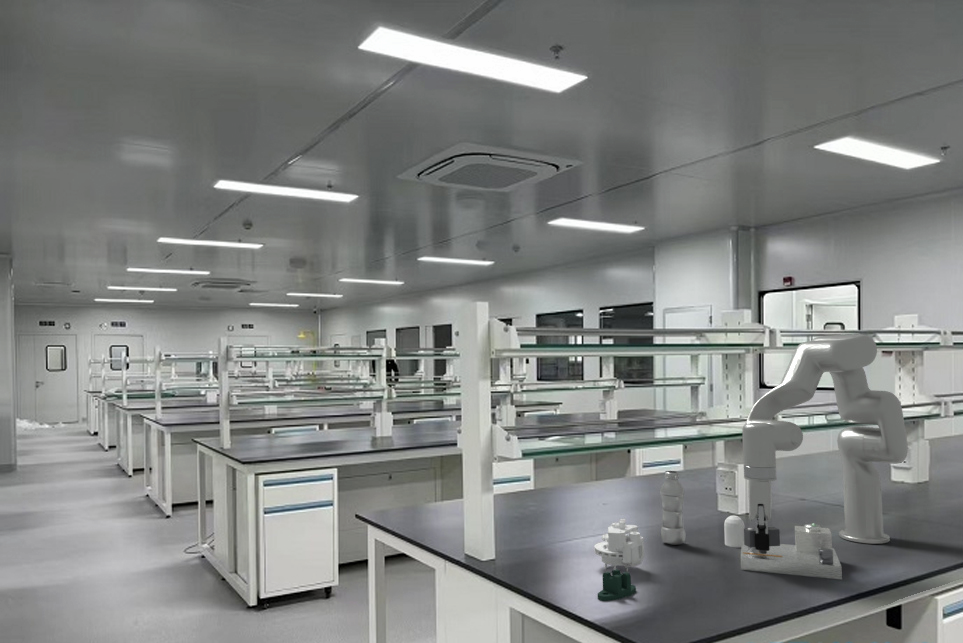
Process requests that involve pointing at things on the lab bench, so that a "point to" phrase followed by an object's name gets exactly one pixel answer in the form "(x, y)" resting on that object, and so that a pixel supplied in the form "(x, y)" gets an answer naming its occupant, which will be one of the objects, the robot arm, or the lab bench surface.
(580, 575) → the lab bench surface
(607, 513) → the lab bench surface
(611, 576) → the mount
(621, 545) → the mechanical part
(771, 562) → the levelling base
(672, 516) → the plastic bottle
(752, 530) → the block
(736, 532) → the capsule
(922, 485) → the lab bench surface
